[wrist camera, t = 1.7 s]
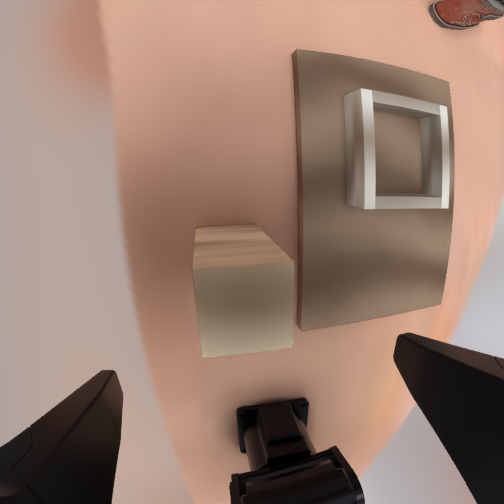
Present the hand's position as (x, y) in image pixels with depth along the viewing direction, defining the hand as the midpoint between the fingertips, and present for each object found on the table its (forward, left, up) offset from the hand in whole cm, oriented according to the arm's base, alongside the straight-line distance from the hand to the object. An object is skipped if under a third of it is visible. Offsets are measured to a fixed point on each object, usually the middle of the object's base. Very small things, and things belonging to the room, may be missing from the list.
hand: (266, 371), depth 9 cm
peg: (0, 0, -13) cm, 13 cm away
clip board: (+4, -12, -13) cm, 18 cm away
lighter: (+23, -23, -13) cm, 35 cm away
